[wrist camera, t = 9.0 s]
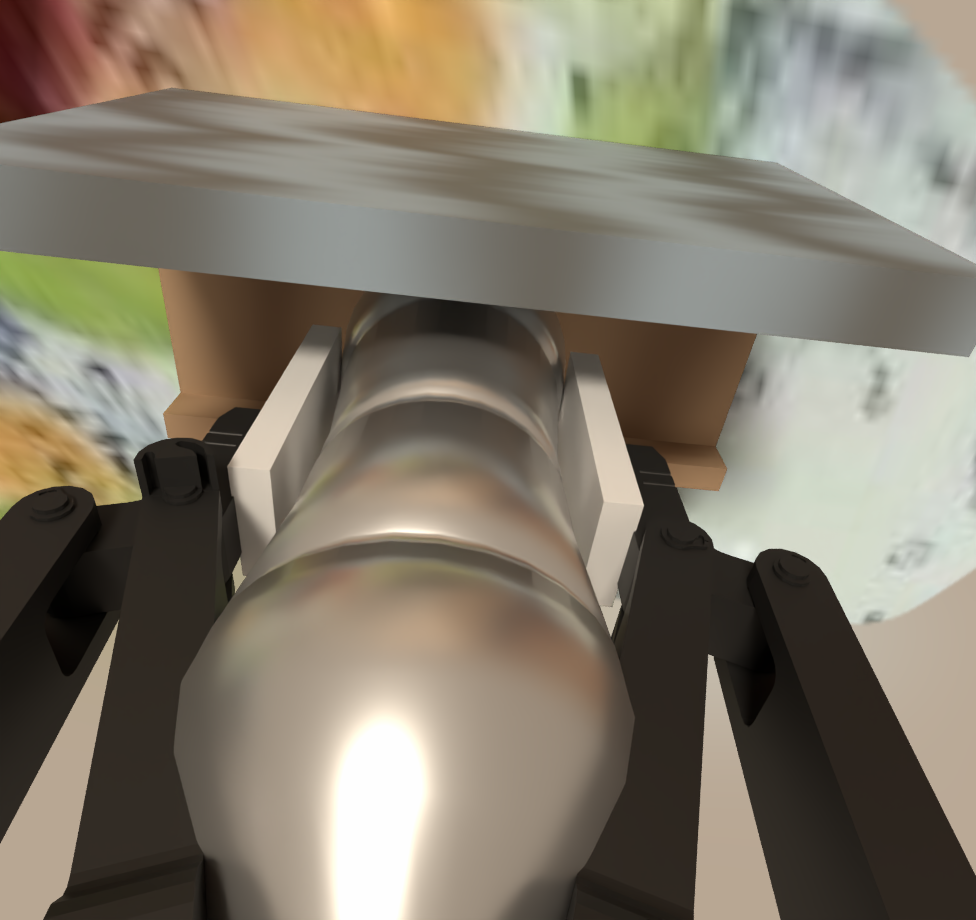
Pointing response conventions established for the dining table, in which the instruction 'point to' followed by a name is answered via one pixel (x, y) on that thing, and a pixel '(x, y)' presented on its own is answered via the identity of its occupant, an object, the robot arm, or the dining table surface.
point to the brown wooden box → (469, 247)
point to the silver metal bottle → (413, 650)
